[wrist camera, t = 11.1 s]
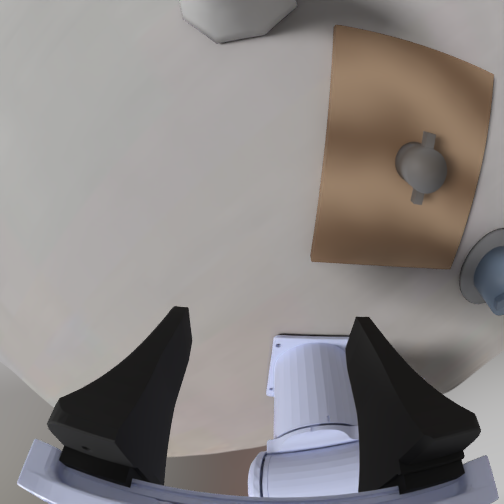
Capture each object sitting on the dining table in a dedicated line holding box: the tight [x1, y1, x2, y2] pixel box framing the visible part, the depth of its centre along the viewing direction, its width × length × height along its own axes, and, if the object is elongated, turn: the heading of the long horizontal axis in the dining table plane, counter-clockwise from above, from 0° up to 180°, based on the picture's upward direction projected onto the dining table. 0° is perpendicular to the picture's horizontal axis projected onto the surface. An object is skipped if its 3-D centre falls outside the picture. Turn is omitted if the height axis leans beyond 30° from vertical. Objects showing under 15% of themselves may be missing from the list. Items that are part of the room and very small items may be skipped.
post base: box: [310, 25, 494, 269], centre depth 17 cm, size 16×12×3 cm
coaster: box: [460, 228, 504, 304], centre depth 22 cm, size 8×8×1 cm
